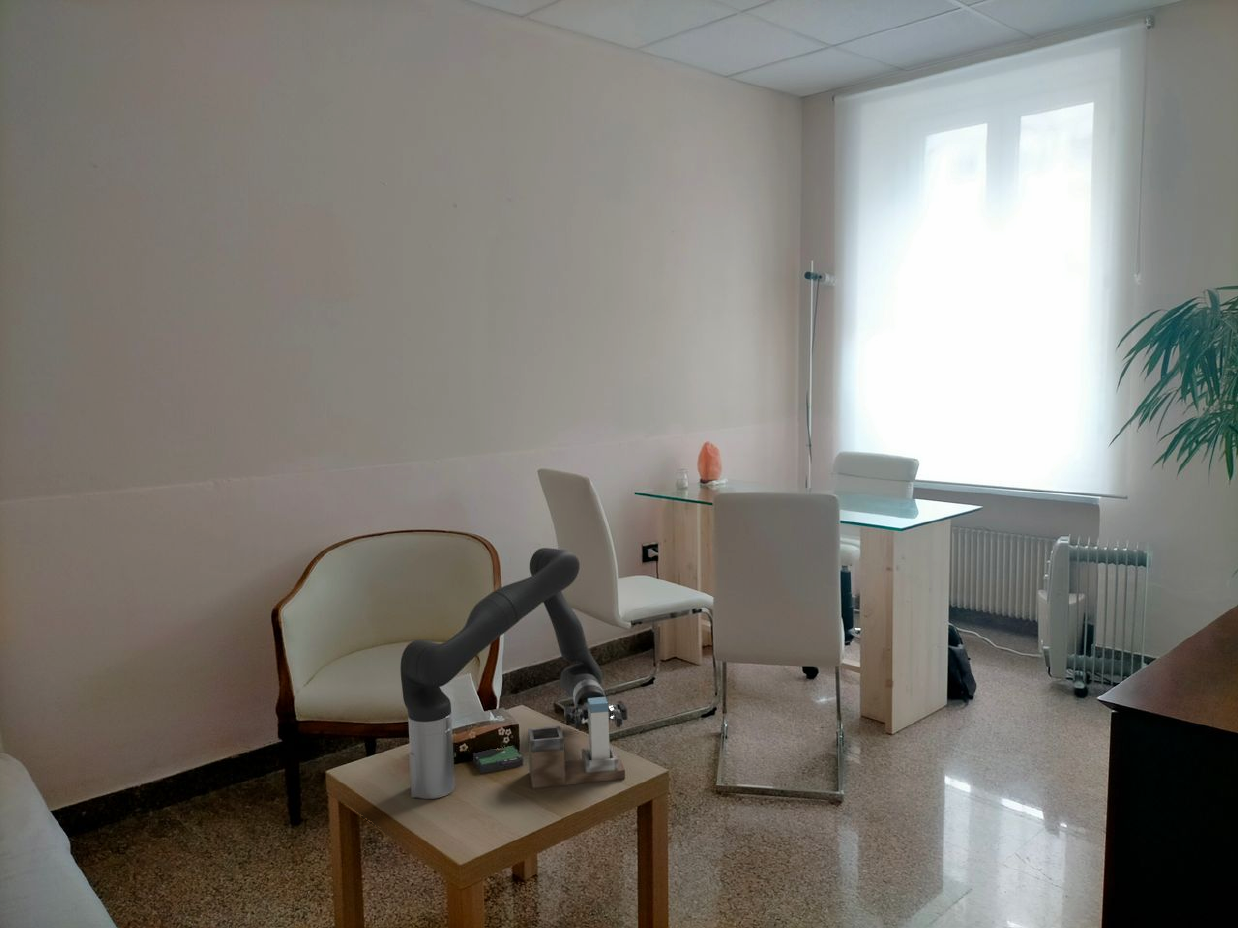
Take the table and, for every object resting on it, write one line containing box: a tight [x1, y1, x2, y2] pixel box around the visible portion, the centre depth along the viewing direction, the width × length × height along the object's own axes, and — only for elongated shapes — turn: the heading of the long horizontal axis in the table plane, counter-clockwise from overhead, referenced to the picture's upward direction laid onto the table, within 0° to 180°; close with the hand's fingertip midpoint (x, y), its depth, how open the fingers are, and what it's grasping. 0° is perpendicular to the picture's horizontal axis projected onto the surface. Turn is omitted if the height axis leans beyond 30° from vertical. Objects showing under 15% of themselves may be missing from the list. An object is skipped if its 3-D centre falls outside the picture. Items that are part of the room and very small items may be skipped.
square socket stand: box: [527, 725, 626, 789], centre depth 210 cm, size 21×8×10 cm, turn 100°
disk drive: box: [473, 744, 524, 775], centre depth 222 cm, size 10×3×15 cm
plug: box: [588, 696, 610, 760], centre depth 210 cm, size 4×4×15 cm
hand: (599, 724), depth 209 cm, fingers open, 8 cm apart
